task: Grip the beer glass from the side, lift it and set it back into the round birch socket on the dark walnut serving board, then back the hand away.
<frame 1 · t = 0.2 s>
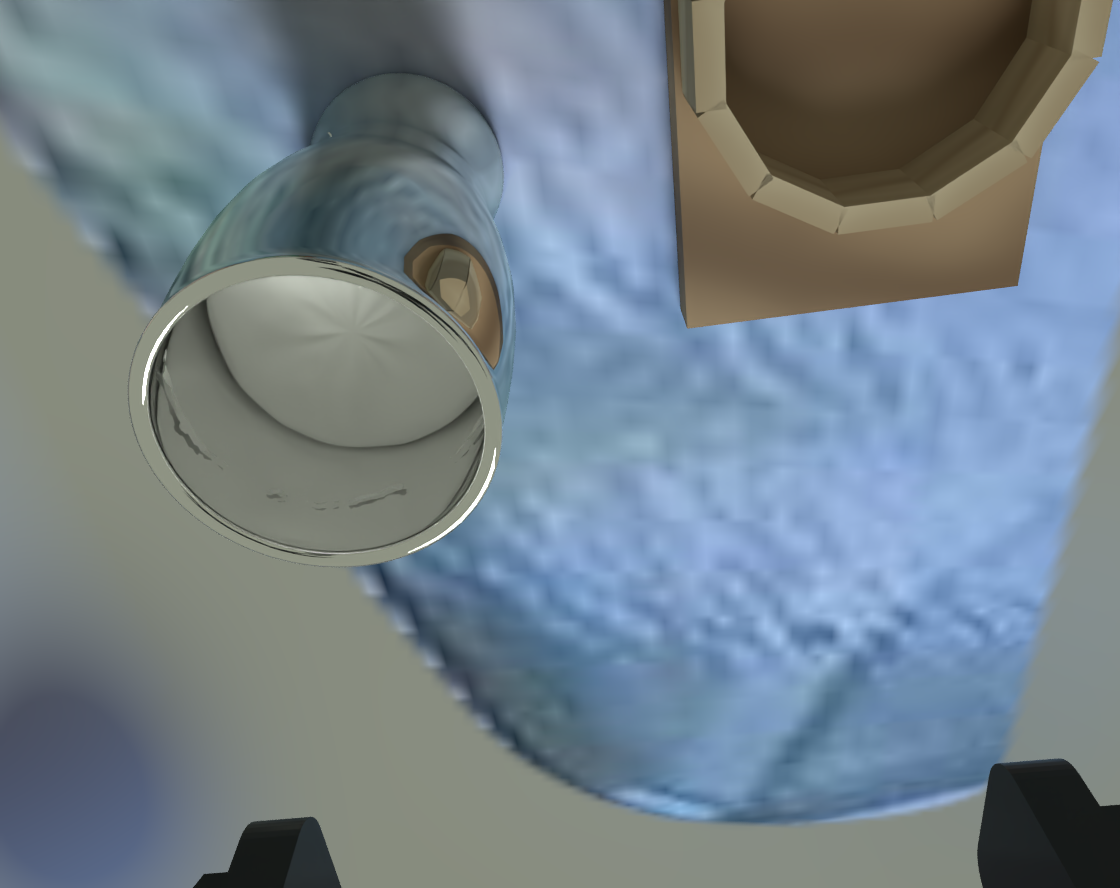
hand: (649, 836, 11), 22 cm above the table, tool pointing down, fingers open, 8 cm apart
beer glass: (408, 171, 28), on the table
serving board: (853, 6, 26), on the table
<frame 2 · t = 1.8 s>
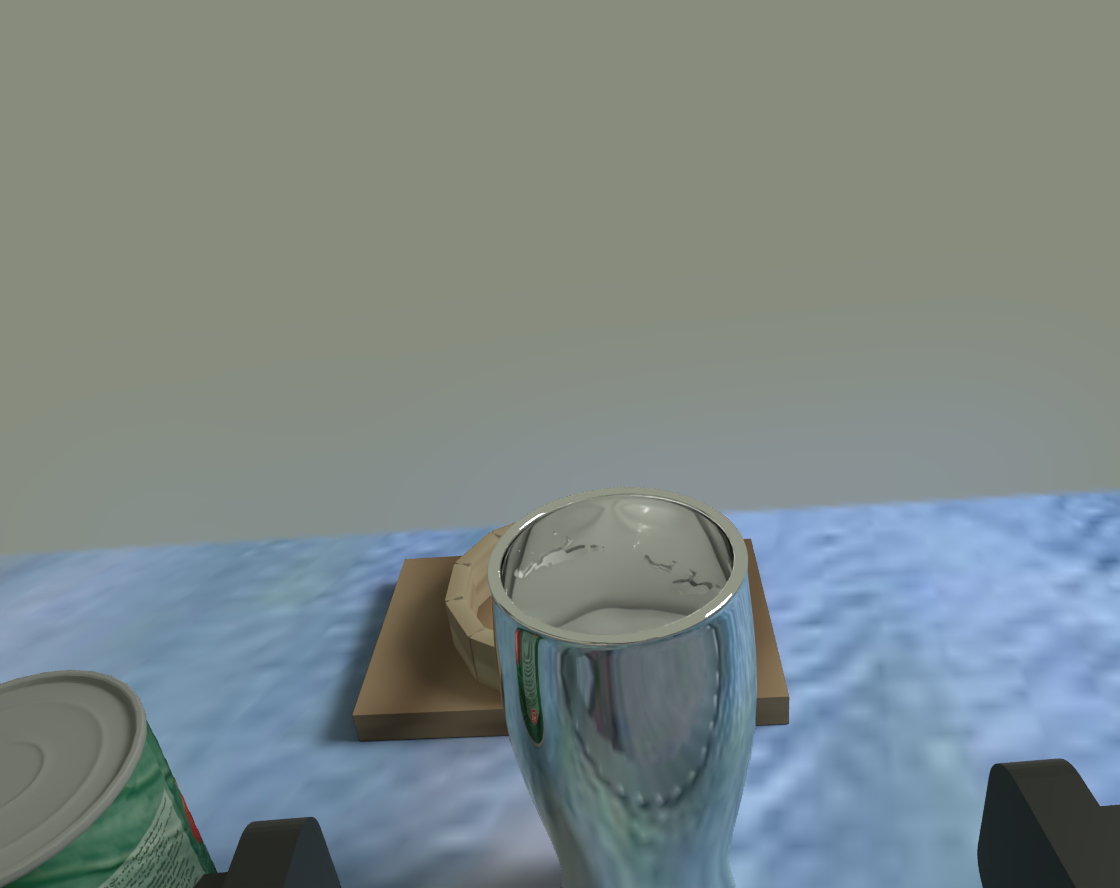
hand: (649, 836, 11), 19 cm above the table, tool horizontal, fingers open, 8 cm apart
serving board: (573, 643, 42), on the table
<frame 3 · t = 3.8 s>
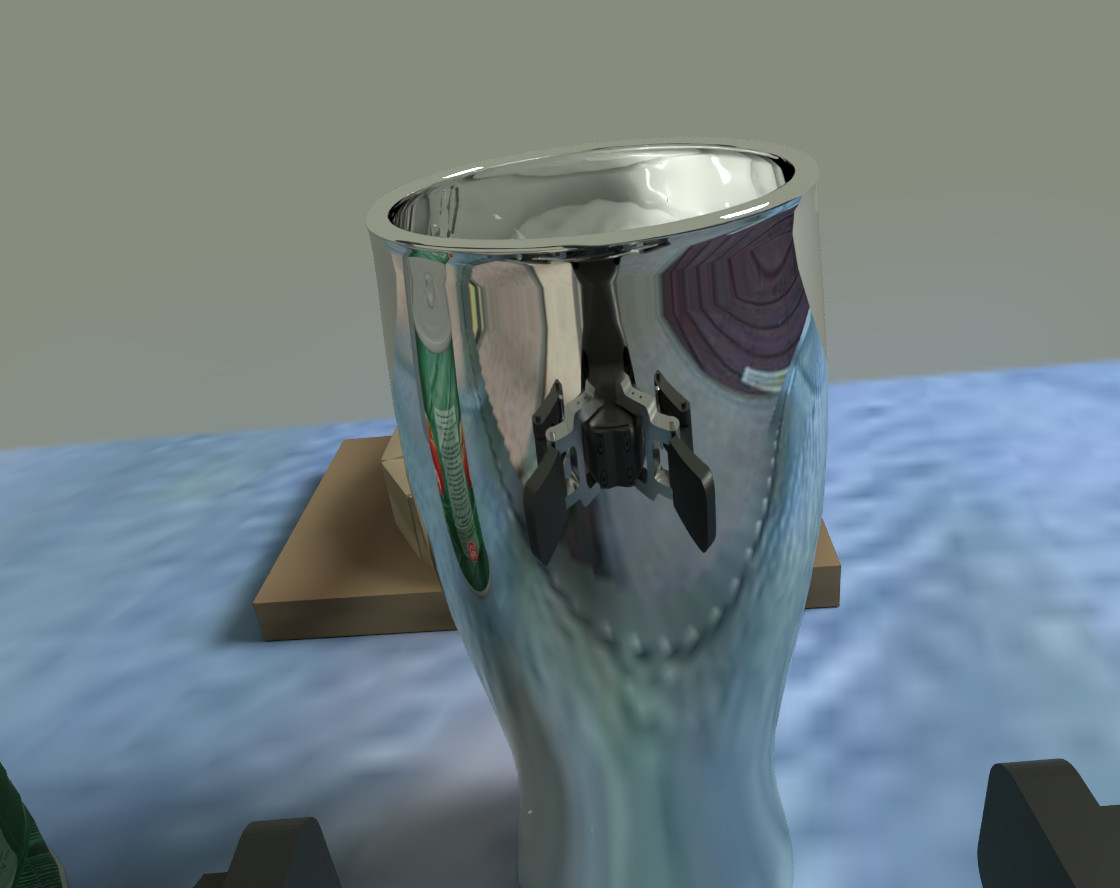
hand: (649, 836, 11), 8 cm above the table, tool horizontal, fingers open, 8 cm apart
beer glass: (654, 864, 20), on the table
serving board: (552, 526, 32), on the table
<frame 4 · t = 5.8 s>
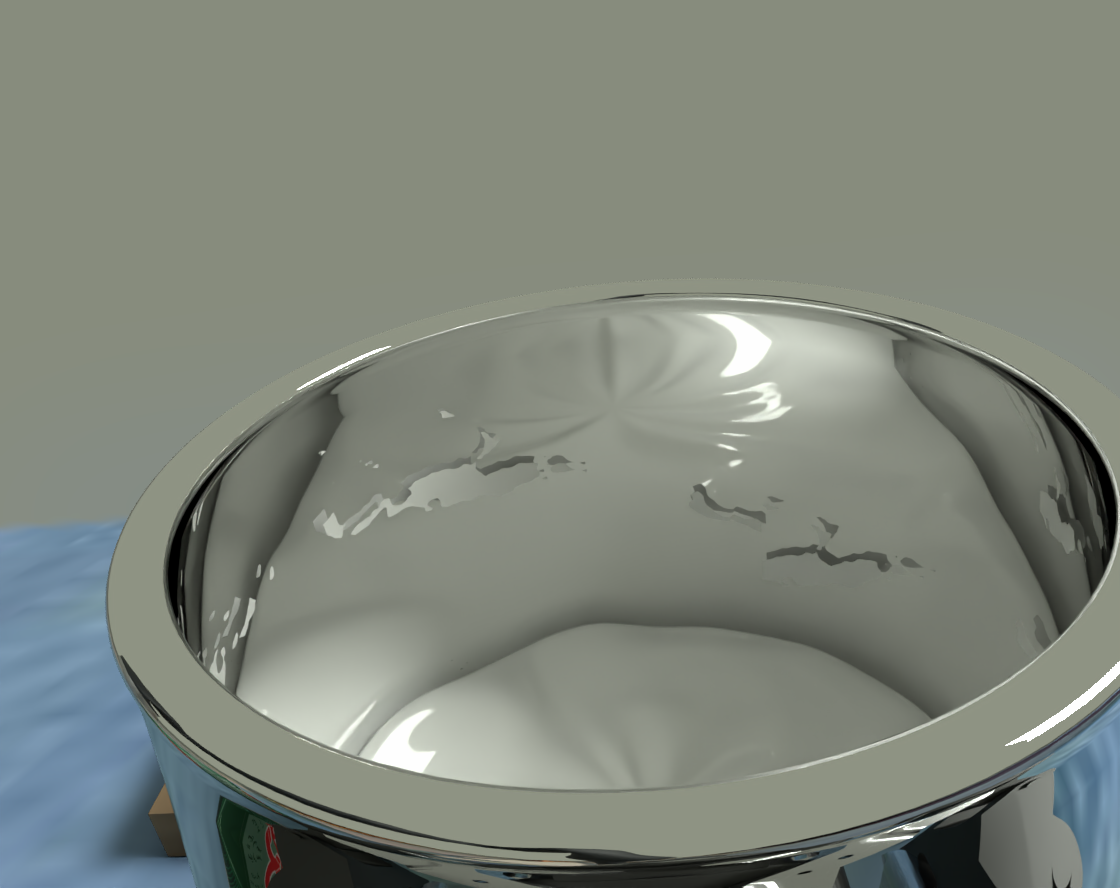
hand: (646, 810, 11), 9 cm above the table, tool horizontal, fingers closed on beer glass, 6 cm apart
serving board: (549, 677, 26), on the table
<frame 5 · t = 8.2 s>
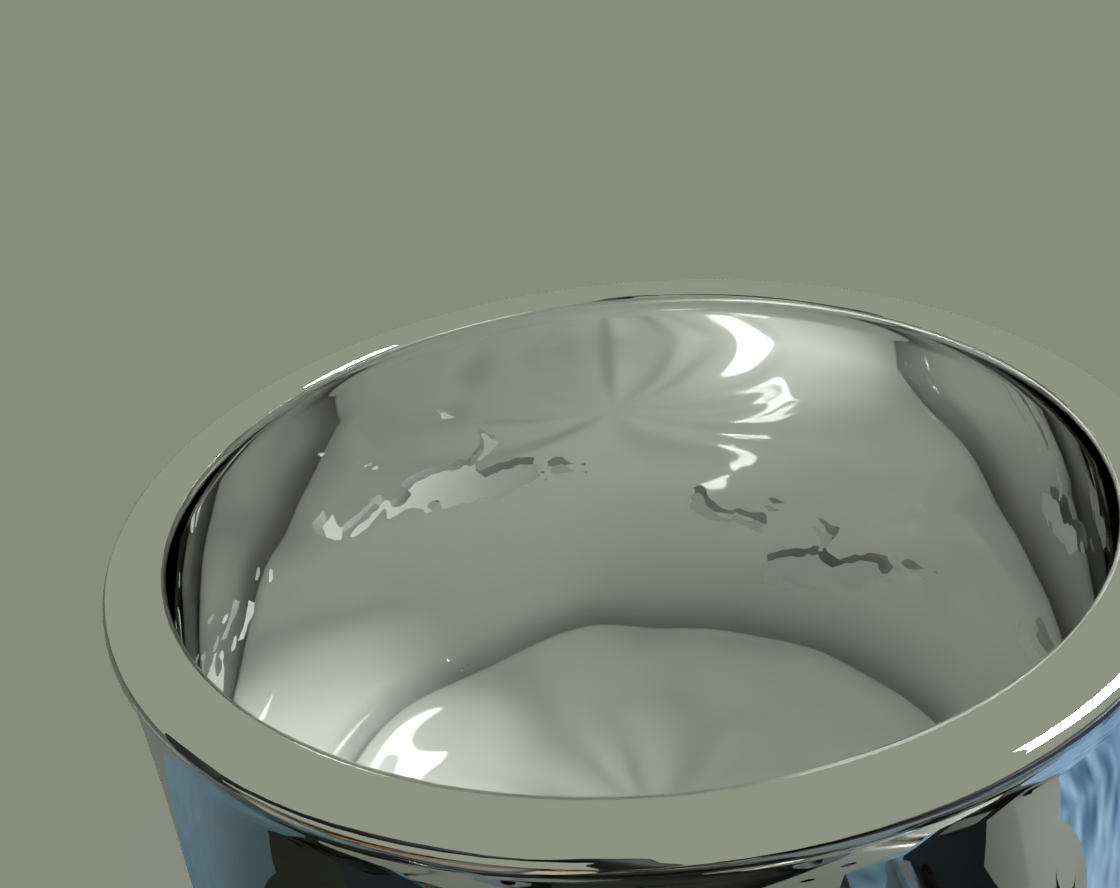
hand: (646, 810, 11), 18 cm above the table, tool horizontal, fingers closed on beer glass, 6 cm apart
when the fingers open (11 cm above the table, at t = 11.0 s): beer glass drops 1 cm, resting on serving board.
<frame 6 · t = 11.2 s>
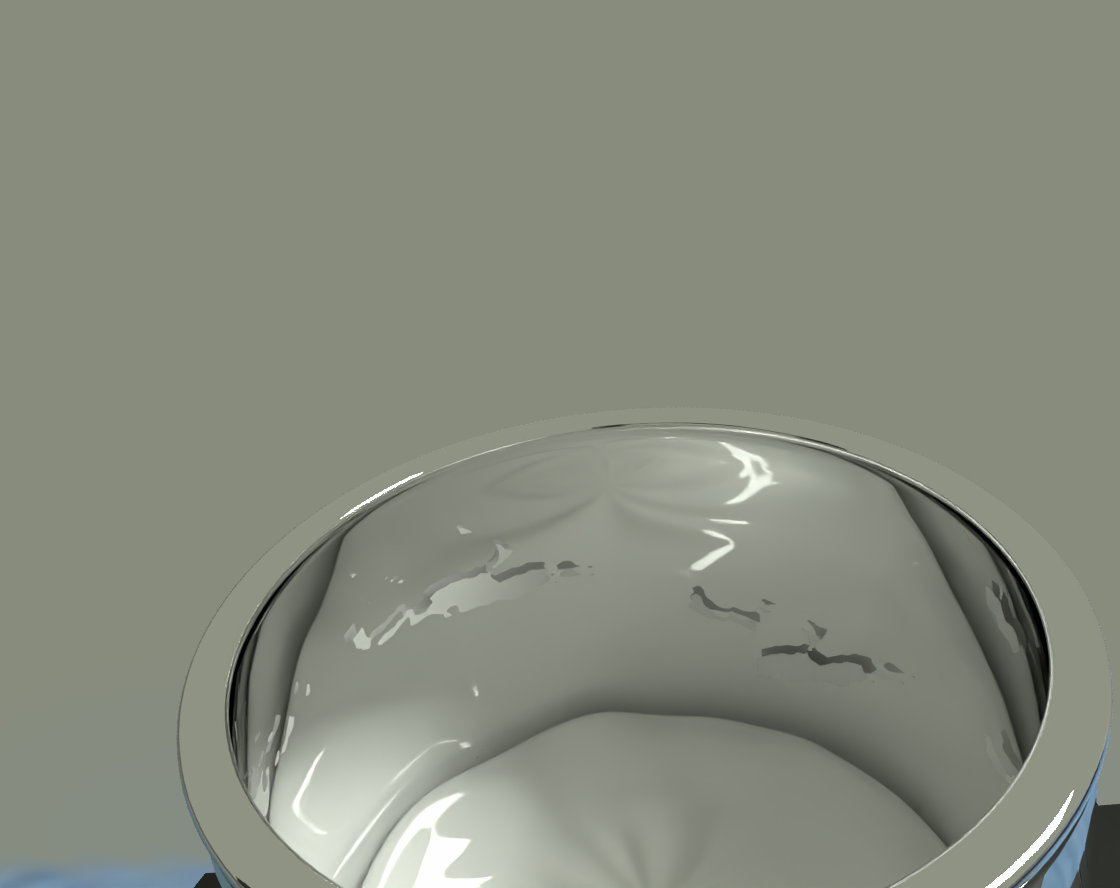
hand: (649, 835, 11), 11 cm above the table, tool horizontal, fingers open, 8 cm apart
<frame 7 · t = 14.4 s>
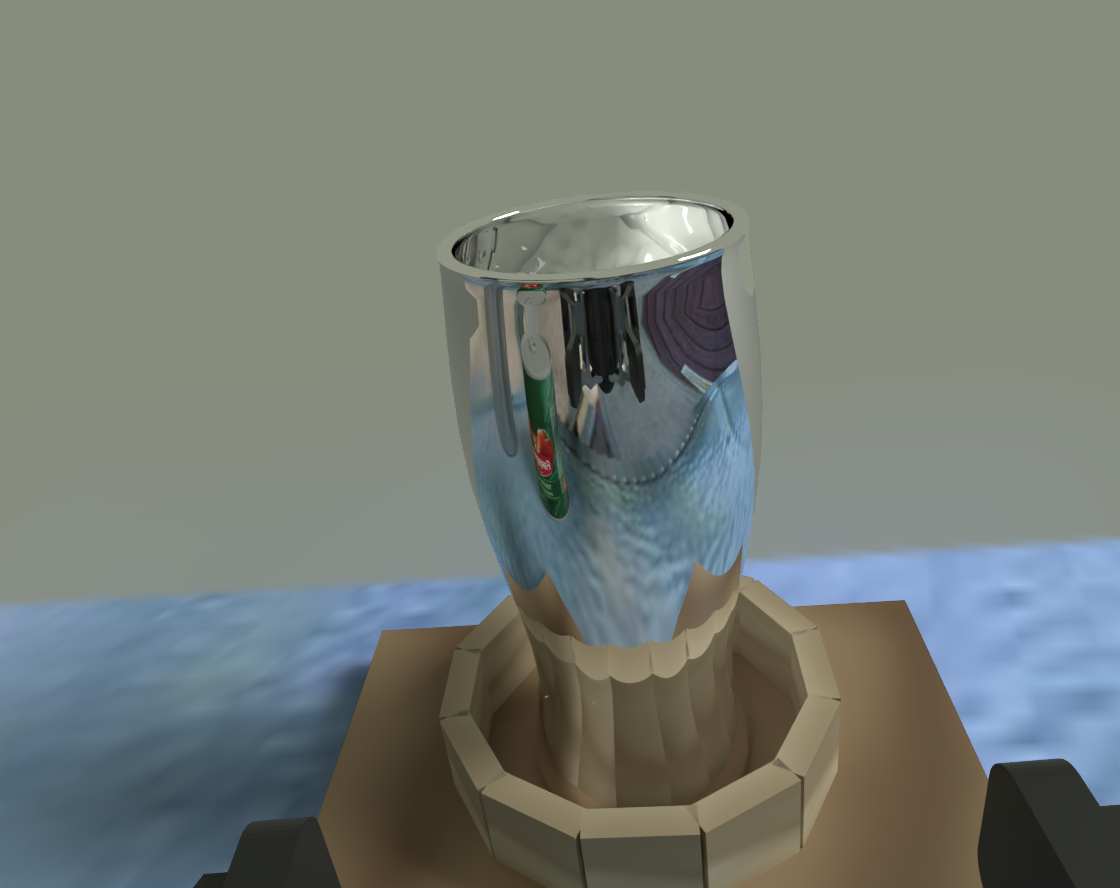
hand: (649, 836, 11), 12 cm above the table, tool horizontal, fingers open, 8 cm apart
beer glass: (642, 749, 26), point 1 cm above the table, touching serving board
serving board: (644, 773, 27), on the table
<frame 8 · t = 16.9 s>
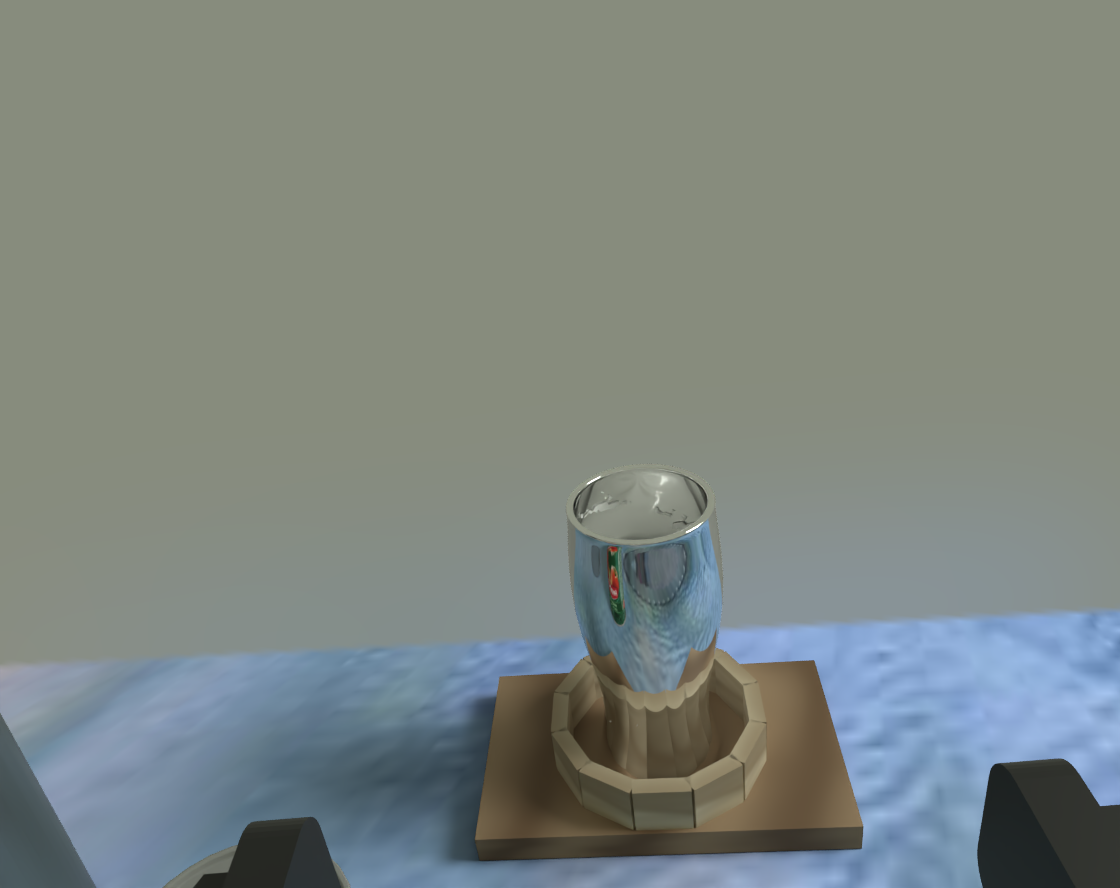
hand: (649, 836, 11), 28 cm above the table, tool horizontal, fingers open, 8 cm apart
beer glass: (660, 749, 46), point 1 cm above the table, touching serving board
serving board: (660, 762, 47), on the table
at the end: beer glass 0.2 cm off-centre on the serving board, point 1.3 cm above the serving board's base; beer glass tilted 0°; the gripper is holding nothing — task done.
